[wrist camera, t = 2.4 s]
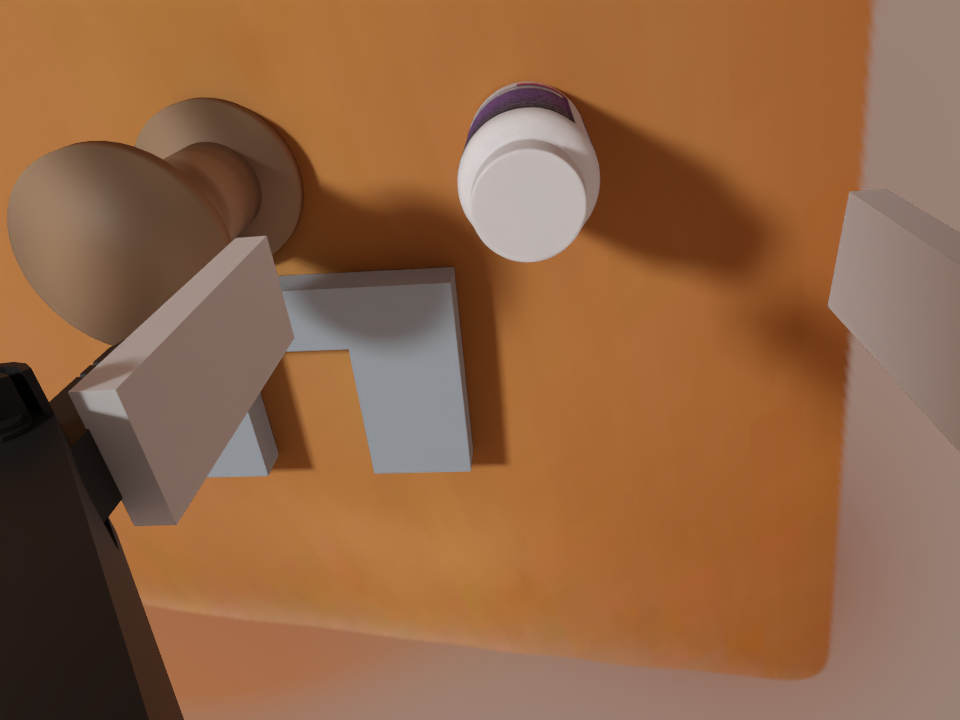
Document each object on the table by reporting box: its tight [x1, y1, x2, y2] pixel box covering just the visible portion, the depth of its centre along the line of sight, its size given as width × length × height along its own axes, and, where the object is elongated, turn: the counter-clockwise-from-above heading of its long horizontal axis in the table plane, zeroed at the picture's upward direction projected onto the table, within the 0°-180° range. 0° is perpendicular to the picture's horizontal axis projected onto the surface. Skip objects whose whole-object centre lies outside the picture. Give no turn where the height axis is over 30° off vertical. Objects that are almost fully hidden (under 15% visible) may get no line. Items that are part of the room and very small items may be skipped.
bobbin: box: [7, 98, 303, 346], centre depth 28 cm, size 8×8×10 cm
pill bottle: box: [458, 82, 600, 262], centre depth 26 cm, size 5×5×10 cm
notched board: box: [207, 267, 473, 477], centre depth 37 cm, size 18×12×2 cm, turn 94°
